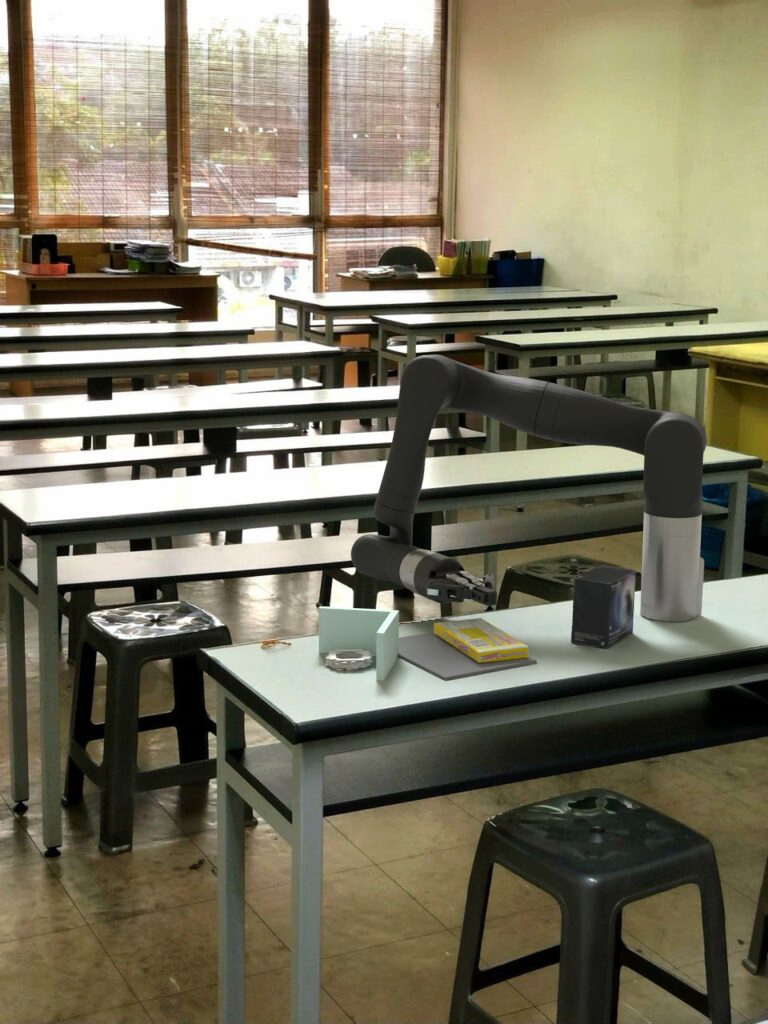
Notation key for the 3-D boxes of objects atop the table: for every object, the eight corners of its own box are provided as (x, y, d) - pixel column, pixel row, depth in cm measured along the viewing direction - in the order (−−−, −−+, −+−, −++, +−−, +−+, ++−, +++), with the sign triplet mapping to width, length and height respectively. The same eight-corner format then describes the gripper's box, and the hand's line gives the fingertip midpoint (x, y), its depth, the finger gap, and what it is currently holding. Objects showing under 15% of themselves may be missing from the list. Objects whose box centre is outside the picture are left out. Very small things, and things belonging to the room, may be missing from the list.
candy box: (480, 630, 210) (432, 633, 207) (481, 617, 209) (433, 620, 206) (528, 660, 195) (477, 664, 192) (529, 646, 194) (478, 649, 191)
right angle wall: (320, 654, 200) (319, 606, 198) (398, 659, 198) (398, 610, 196) (300, 679, 188) (300, 628, 187) (383, 684, 186) (383, 633, 185)
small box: (608, 650, 200) (611, 582, 198) (569, 643, 204) (571, 577, 202) (635, 633, 209) (638, 568, 207) (597, 627, 213) (599, 563, 211)
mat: (461, 629, 211) (461, 627, 211) (536, 662, 194) (536, 660, 194) (374, 644, 203) (374, 641, 203) (445, 680, 186) (445, 677, 186)
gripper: (397, 557, 213) (456, 580, 198) (465, 548, 220) (528, 569, 205) (397, 602, 215) (456, 628, 200) (465, 592, 221) (527, 616, 206)
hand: (492, 598), depth 202 cm, fingers closed
